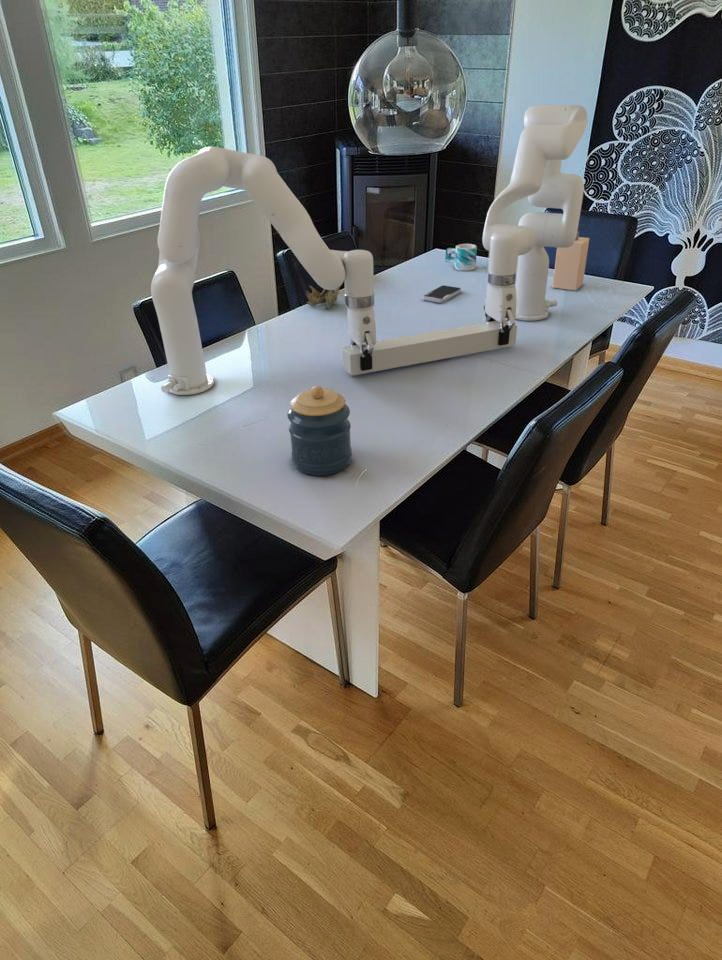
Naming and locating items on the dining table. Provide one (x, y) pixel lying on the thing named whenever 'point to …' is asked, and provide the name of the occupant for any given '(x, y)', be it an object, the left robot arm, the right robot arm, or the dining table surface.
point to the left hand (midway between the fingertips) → (361, 364)
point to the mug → (463, 256)
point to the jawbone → (322, 297)
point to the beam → (428, 347)
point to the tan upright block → (571, 265)
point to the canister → (320, 432)
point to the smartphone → (441, 294)
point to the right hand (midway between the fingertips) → (496, 339)
